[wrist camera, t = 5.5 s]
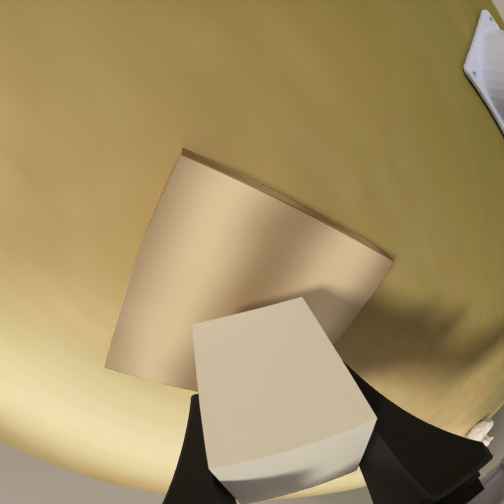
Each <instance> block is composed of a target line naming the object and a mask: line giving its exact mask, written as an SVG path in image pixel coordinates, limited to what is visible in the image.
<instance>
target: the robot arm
mask: <svg viewBox="0 0 504 504" xmlns="http://www.w3.org/2000/svg"><path fill="white" fill-rule="evenodd" d="M464 71H465V73H466V75H467V76H468V78H469V79H470V81H471V82H472V83H473V85H474V86H475V88H476V89H477V91H478V92H479V94H480V95H481V97H482V98H483V100H484V101H485V103H486V105H487V106H488V108H489V109H490V111H491V113H492V114H493V116H494V118H495V120H496V121H497V123H498V125H499V127H500V128H501V130H502V132H503V134H504V30H500V28H499V27H498V25H497V23H496V22H495V20H494V19H493V18H492V16H491V15H490V13H489V12H488V11H487V10H482V12H481V15H480V19H479V22H478V25H477V29H476V32H475V35H474V38H473V41H472V44H471V47H470V50H469V53H468V56H467V58H466V61H465V64H464ZM342 361H343V360H342ZM343 363H344V364H345V366H346V368H347V369H348V371H349V372H350V374H351V376H352V377H353V379H354V381H355V382H356V384H357V386H358V387H359V389H360V390H361V392H362V394H363V395H364V397H365V399H366V400H367V402H368V404H369V405H370V407H371V409H372V410H373V412H374V414H375V415H376V417H377V420H376V423H375V425H374V428H373V431H372V434H371V436H370V439H369V441H368V444H367V447H366V449H365V451H364V454H363V456H362V459H361V461H360V463H359V467H360V469H361V472H362V474H363V477H364V479H365V482H366V484H367V487H368V489H369V492H370V495H371V498H372V501H373V504H504V458H503V459H501V460H500V461H499V462H498V463H497V464H496V465H495V466H494V467H493V468H492V469H490V470H489V471H488V472H487V473H486V475H485V476H484V477H483V478H482V479H481V480H479V479H478V477H479V476H480V473H479V470H480V469H481V468H482V467H484V466H485V465H486V464H487V463H488V462H489V461H490V460H491V459H492V458H493V455H492V454H491V453H490V451H489V449H488V448H487V447H486V446H485V445H484V443H483V442H480V441H476V440H472V439H468V438H465V437H461V436H458V435H455V434H452V433H449V432H447V431H444V430H442V429H440V428H437V427H435V426H433V425H430V424H428V423H426V422H424V421H422V420H420V419H419V418H417V417H415V416H413V415H411V414H410V413H408V412H406V411H405V410H403V409H401V408H400V407H398V406H397V405H395V404H394V403H393V402H391V401H390V400H388V399H387V398H386V397H384V396H383V395H382V394H380V393H379V392H378V391H376V390H375V389H374V388H373V387H371V386H370V385H369V384H368V383H367V382H365V381H364V380H363V379H362V378H361V377H360V376H359V375H357V374H356V373H355V372H354V371H353V370H352V369H351V368H350V367H349V366H348V365H347V364H346V363H345V362H344V361H343ZM162 504H237V503H236V499H235V497H234V496H233V495H232V494H231V493H230V492H229V491H228V490H227V489H226V488H225V487H224V486H223V484H222V483H221V482H220V481H219V480H218V479H217V478H216V477H215V475H214V474H213V473H212V472H211V471H210V470H209V468H208V461H207V455H206V448H205V441H204V434H203V427H202V419H201V411H200V402H199V394H195V395H193V396H192V397H191V404H190V412H189V418H188V423H187V429H186V433H185V438H184V442H183V446H182V450H181V454H180V457H179V461H178V464H177V467H176V470H175V473H174V476H173V479H172V482H171V484H170V487H169V490H168V492H167V494H166V497H165V499H164V501H163V503H162Z"/></svg>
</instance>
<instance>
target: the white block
mask: <svg viewBox="0 0 504 504" xmlns="http://www.w3.org/2000/svg"><path fill="white" fill-rule="evenodd" d="M192 328H193V341H194V353H195V364H196V375H197V384H198V394H199V402H200V411H201V419H202V427H203V434H204V441H205V448H206V455H207V461H208V468H209V470H210V471H211V472H212V473H213V474H214V475H215V477H216V478H217V479H218V480H219V481H220V482H221V483H222V484H223V486H224V487H225V488H226V489H227V490H228V491H229V492H230V493H231V494H232V495H233V496H234V497H235V498H236V499H237V500H238V501H239V503H241V504H248V503H253V502H258V501H262V500H267V499H271V498H275V497H279V496H283V495H287V494H290V493H294V492H297V491H301V490H304V489H307V488H310V487H314V486H317V485H320V484H322V483H325V482H328V481H331V480H334V479H336V478H339V477H342V476H344V475H347V474H349V473H352V472H354V471H356V470H357V468H358V466H359V463H360V461H361V459H362V456H363V454H364V451H365V449H366V447H367V444H368V441H369V439H370V436H371V434H372V431H373V428H374V425H375V423H376V420H377V417H376V415H375V414H374V412H373V410H372V409H371V407H370V405H369V404H368V402H367V400H366V399H365V397H364V395H363V394H362V392H361V390H360V389H359V387H358V386H357V384H356V382H355V381H354V379H353V377H352V376H351V374H350V372H349V371H348V369H347V368H346V366H345V364H344V363H343V361H342V359H341V358H340V356H339V355H338V353H337V351H336V350H335V348H334V347H333V345H332V343H331V342H330V340H329V339H328V337H327V335H326V334H325V332H324V331H323V329H322V327H321V326H320V324H319V323H318V321H317V319H316V318H315V316H314V315H313V313H312V312H311V310H310V308H309V307H308V305H307V304H306V302H305V300H304V299H303V297H300V298H296V299H292V300H289V301H285V302H281V303H278V304H274V305H270V306H266V307H262V308H258V309H255V310H251V311H247V312H243V313H239V314H234V315H230V316H226V317H222V318H218V319H213V320H209V321H205V322H200V323H196V324H192Z"/></svg>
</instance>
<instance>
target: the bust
mask: <svg viewBox="0 0 504 504" xmlns="http://www.w3.org/2000/svg"><path fill="white" fill-rule="evenodd" d="M492 426H493V421H492V420H491V419H489V418H484V419H483V420H481V421H480V422H479V423H477V424H476V425H474V426H473V427H472V428H471V430H470V431H469V432H468V433H467V434H466V436H465V438H468V439H472V440H476V441H480V442H483V443H484V445H485V446H486V447H487V445H489V444H490V441H491V440H492V439H493V437H491V438H489V436H487V435H486V434H487V432H488V431H489V430H490V429H491V428H492Z"/></svg>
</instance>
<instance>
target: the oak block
mask: <svg viewBox="0 0 504 504" xmlns="http://www.w3.org/2000/svg"><path fill="white" fill-rule="evenodd" d="M393 263H394V262H393V261H392V260H391V259H390V258H389V257H387V256H386V255H385V254H384V253H383V252H381V251H380V250H379V249H378V248H377V247H375V246H374V245H373V244H372V243H370V242H369V241H367V240H365V239H363V238H362V237H360V236H358V235H356V234H355V233H353V232H351V231H349V230H347V229H346V228H344V227H342V226H340V225H338V224H337V223H335V222H333V221H331V220H329V219H327V218H326V217H324V216H322V215H320V214H318V213H316V212H314V211H313V210H311V209H309V208H307V207H305V206H303V205H301V204H299V203H297V202H295V201H293V200H291V199H290V198H288V197H286V196H284V195H282V194H280V193H278V192H276V191H274V190H272V189H270V188H268V187H266V186H264V185H262V184H260V183H258V182H255V181H253V180H251V179H249V178H247V177H245V176H243V175H241V174H239V173H237V172H235V171H232V170H230V169H228V168H226V167H224V166H222V165H220V164H217V163H215V162H213V161H211V160H209V159H206V158H204V157H202V156H200V155H197V154H195V153H193V152H191V151H188V150H186V149H184V148H182V150H181V152H180V154H179V156H178V159H177V161H176V163H175V165H174V167H173V169H172V171H171V174H170V176H169V178H168V180H167V183H166V185H165V187H164V189H163V192H162V194H161V196H160V199H159V201H158V203H157V206H156V208H155V211H154V213H153V216H152V218H151V221H150V223H149V226H148V228H147V231H146V233H145V236H144V238H143V241H142V244H141V246H140V249H139V252H138V255H137V257H136V260H135V263H134V266H133V269H132V271H131V274H130V277H129V280H128V283H127V286H126V289H125V292H124V295H123V299H122V302H121V305H120V308H119V312H118V315H117V318H116V322H115V325H114V329H113V332H112V336H111V340H110V344H109V349H108V353H107V358H106V363H105V368H107V369H110V370H113V371H117V372H120V373H123V374H127V375H130V376H134V377H137V378H141V379H145V380H149V381H153V382H157V383H161V384H165V385H169V386H173V387H178V388H182V389H187V390H192V391H197V392H198V384H197V375H196V364H195V353H194V341H193V328H192V324H196V323H200V322H205V321H209V320H213V319H218V318H222V317H226V316H230V315H234V314H239V313H243V312H247V311H251V310H255V309H258V308H262V307H266V306H270V305H274V304H278V303H281V302H285V301H289V300H292V299H296V298H300V297H303V299H304V300H305V302H306V304H307V305H308V307H309V308H310V310H311V312H312V313H313V315H314V316H315V318H316V319H317V321H318V323H319V324H320V326H321V327H322V329H323V331H324V332H325V334H326V335H327V337H328V339H329V340H330V342H331V343H332V345H333V346H334V345H335V344H336V342H337V341H338V340H339V339H340V337H341V336H342V335H343V333H344V332H345V331H346V330H347V328H348V327H349V326H350V324H351V323H352V322H353V320H354V319H355V318H356V316H357V315H358V314H359V312H360V311H361V310H362V308H363V307H364V306H365V304H366V303H367V301H368V300H369V299H370V297H371V296H372V294H373V293H374V291H375V290H376V289H377V287H378V286H379V284H380V283H381V281H382V280H383V278H384V277H385V275H386V274H387V272H388V271H389V269H390V268H391V266H392V265H393Z"/></svg>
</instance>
